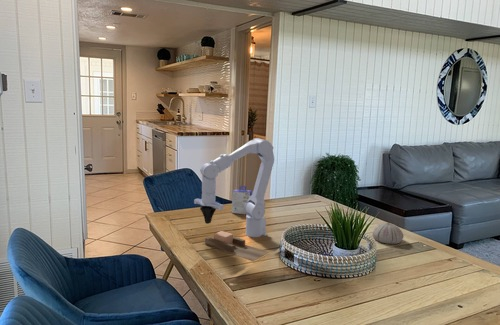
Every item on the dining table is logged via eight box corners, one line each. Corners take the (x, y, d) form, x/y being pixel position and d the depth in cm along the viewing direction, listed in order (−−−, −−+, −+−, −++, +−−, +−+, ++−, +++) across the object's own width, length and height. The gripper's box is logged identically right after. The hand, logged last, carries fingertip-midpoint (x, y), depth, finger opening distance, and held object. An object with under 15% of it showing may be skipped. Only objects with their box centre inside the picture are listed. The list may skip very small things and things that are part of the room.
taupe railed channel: (220, 237, 172) (220, 230, 171) (270, 253, 157) (270, 245, 156) (199, 247, 161) (199, 239, 160) (251, 264, 146) (251, 255, 145)
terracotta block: (221, 240, 166) (221, 230, 165) (232, 244, 162) (232, 234, 162) (213, 244, 162) (214, 233, 161) (225, 247, 158) (225, 237, 158)
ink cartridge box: (251, 212, 211) (252, 186, 209) (249, 215, 206) (250, 188, 203) (233, 210, 213) (234, 184, 210) (231, 213, 208) (232, 186, 205)
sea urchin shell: (392, 248, 168) (394, 230, 166) (365, 238, 178) (367, 222, 176) (408, 242, 176) (410, 225, 175) (381, 233, 186) (383, 217, 185)
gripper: (189, 190, 164) (189, 221, 166) (215, 196, 156) (215, 229, 158) (200, 187, 170) (200, 217, 172) (226, 193, 162) (225, 224, 164)
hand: (208, 222), depth 166 cm, fingers closed
